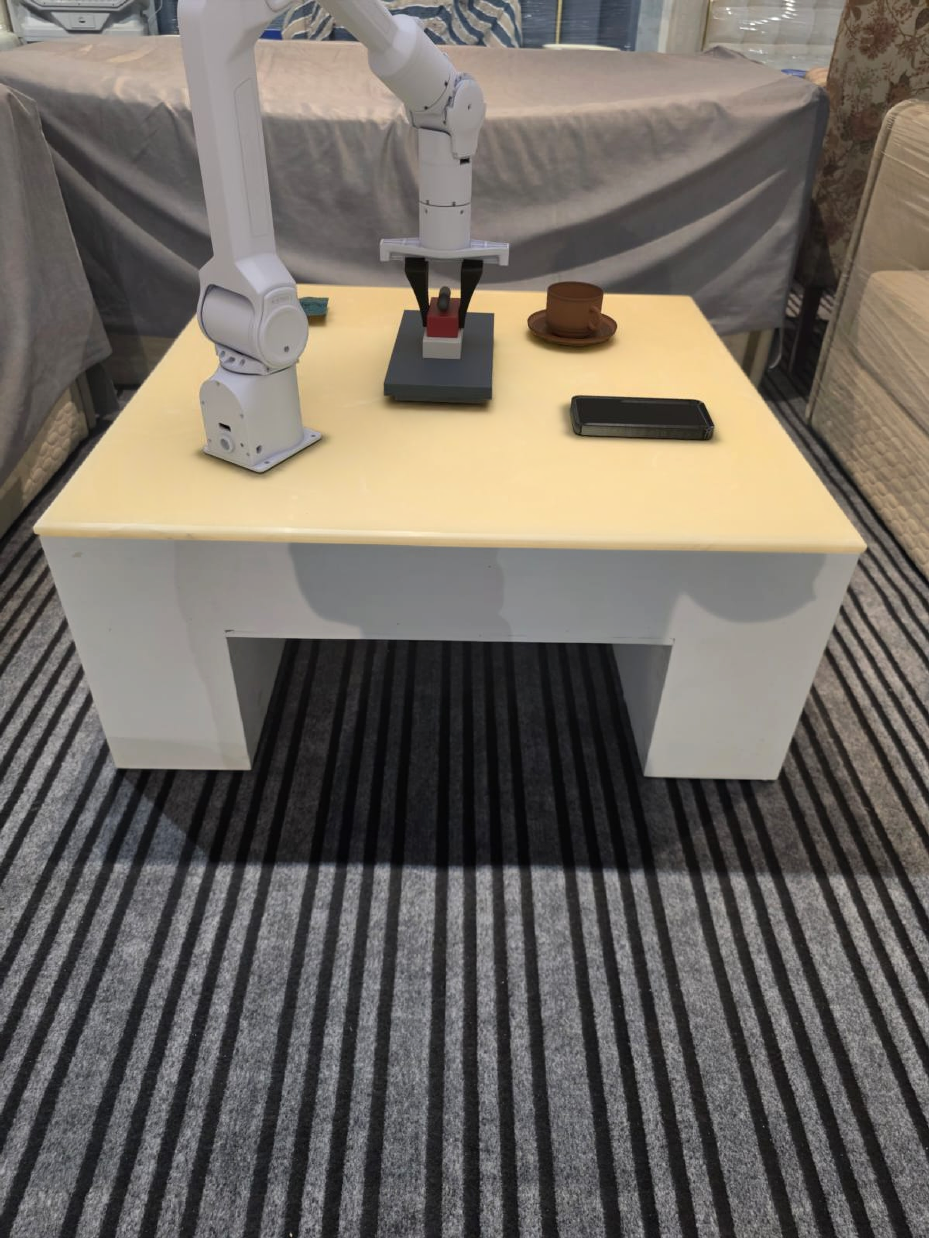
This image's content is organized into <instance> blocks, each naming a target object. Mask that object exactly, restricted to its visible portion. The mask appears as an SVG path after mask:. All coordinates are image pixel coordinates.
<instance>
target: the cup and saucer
mask: <svg viewBox="0 0 929 1238" xmlns="http://www.w3.org/2000/svg"><path fill="white" fill-rule="evenodd" d="M604 294H605V292H604V290H603V288H602V287H600V286H598V285H596V284H593V283H590V282H584V281H577V280H576V281H574V280H570V281H569V280H567V281H558V282H554V283H552V284H550V285H549V286H547V289H546V303H545V309H541V310H537V311H535V312H533V313H531V314H530V315H528V317H527V321H526V323H527V327H528V329H529V330H530V331H531V333H533V334H534V335H535V336H536V337H538V338H539V339H542V340H543V341H546V342H549V343H552V344H556V345H560V346H561V345H562V346H570V347H571V346H572V347H573V346H574V347H584V346H592V345H597V344H599V343H602V342H605V341H607V340H608V339H610V338H611V337H613V336H614V335H615V334H616V332H617V330H618V323H617V321H616V320H615V319H614V318H612V317H611V316H609V315H608V314H605V313H602V308H603V302H604Z"/></svg>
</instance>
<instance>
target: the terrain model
mask: <svg viewBox="0 0 929 1238" xmlns="http://www.w3.org/2000/svg"><path fill="white" fill-rule="evenodd" d="M329 298H330V297H325V296H323V297H318V296H317V297H315V296H302V297H298V299H299V302H300V305H301V307H302V308H303V310H304V312H305V314H306V316H323V317H325V316H327V309H328V305H329V300H330V299H329Z"/></svg>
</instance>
